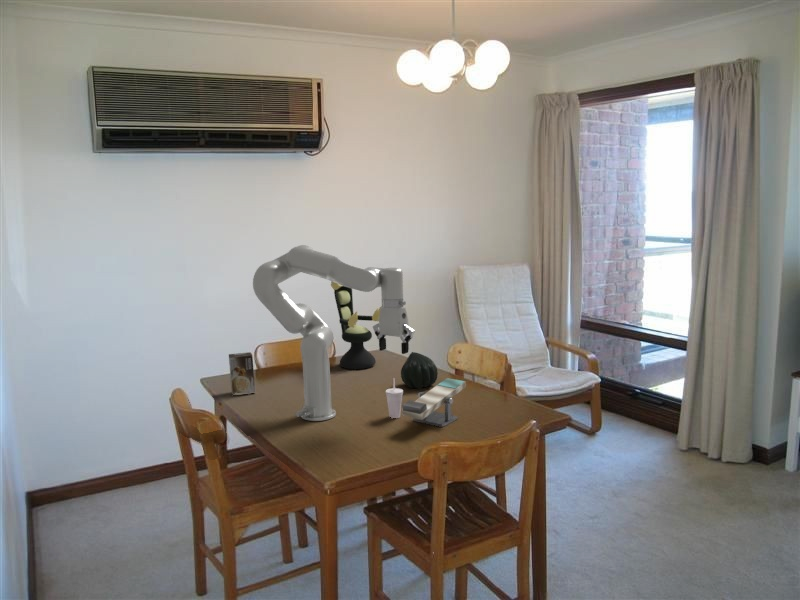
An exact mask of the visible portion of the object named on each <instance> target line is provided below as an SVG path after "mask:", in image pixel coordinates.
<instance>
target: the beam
mask: <svg viewBox="0 0 800 600" xmlns="http://www.w3.org/2000/svg"><path fill="white" fill-rule="evenodd" d="M466 387H467V381H466V380H461V379H460V380H459V379H453V378H448V377H446V378H445V379H444V380H443V381H441V382H440V383H437V384H436V385H435V386H434V387H433V388H431V389H430V390H428V391H427V392H426V393H425V394H424V395H423V396H421V397H420V398H419V397H418V398H417V399H416V400H410V399H409V400H407V401H406V402H404V403H403V404H401V407H402V409H401V416H403V417H407V418H411V419H413V418H415V419H420V420H423V419H424V418H425V417H427V416H428V415H429V414H431V413H432V412H433V411H435V412H436V410H437V409H439V408H440V407H442V406H443V405H445V398H446V397H451V398H452V399H453V397H455V396H456V395H457V394H459V393H460V392H461V391H463V390H464V389H465V388H466Z"/></svg>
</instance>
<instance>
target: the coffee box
mask: <svg viewBox="0 0 800 600" xmlns="http://www.w3.org/2000/svg"><path fill="white" fill-rule="evenodd" d="M253 358H254V357H253V354H252V352H250V351H249V352H242V353H241V352H238V353H229V354H228V363H229V365H228V366H229V376H230V377H229V379H230V390H232V392H231V395H232V394H235V393H250V392H255V393H256V384H255V372H254V371H255V370H254V360H253Z"/></svg>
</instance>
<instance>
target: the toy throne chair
mask: <svg viewBox="0 0 800 600" xmlns="http://www.w3.org/2000/svg"><path fill="white" fill-rule="evenodd" d="M330 282H331V283H330V286H331V287H330V288H332V289H333V294H334V299H335V303H336V308H337V312H338V317H339V324H340V326H341V327H340V328H341V338H342V340H343V341H344V342H345V343H346V342H347V343H350V348H349V349H348V350H347V351H346V352H345V353H344V354H343V355H342V356H341V358H340V360H339V365H340V366H341V368H344V369H348V370H363V369H368V368H369V369H370V368H372V367H374V366H375V364H376V363H377V361H376V358H375V357H374V355H373V354H372V353H371V352H370V351H368V350H367V349H366V348H365V347H364V343H365V342H369V341H371V339H372V338H373V334H372V332H371V331H370V330H369V328H366V327H365V326H362V325H357V322H358V321H368V322H369V321H373V322H379V315H380V308H381V307H382V305H381V306H380V307H379V308H376V310H375V311H374V313H373V314H372V315H360V314H359V315H358V311H355V312H354V303H353V302H354V301H353V299H354V298H353V289H352V288H348V287H345V286H342V285H340V284H337V283H334V282H332V281H330ZM373 365H374V366H373Z"/></svg>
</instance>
